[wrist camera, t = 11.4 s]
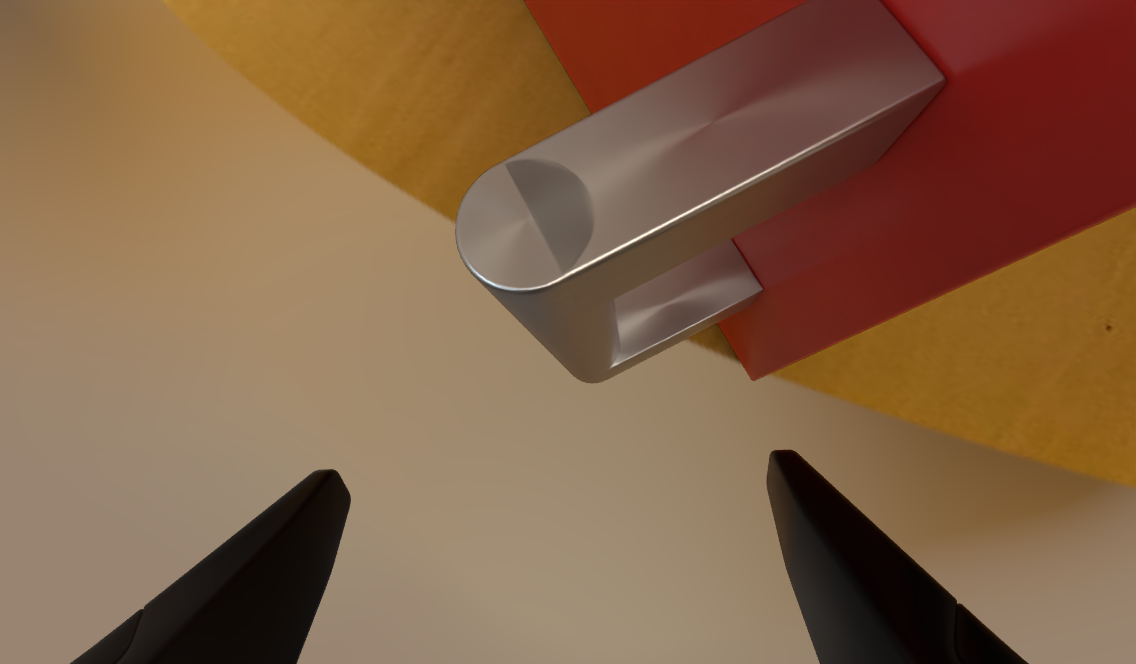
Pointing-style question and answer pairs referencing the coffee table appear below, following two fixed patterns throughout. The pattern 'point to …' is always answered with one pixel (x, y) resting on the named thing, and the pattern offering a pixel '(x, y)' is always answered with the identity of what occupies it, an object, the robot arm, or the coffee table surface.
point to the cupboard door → (798, 167)
